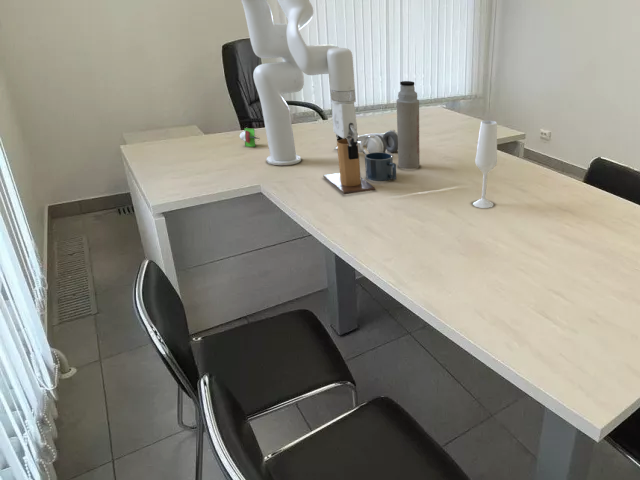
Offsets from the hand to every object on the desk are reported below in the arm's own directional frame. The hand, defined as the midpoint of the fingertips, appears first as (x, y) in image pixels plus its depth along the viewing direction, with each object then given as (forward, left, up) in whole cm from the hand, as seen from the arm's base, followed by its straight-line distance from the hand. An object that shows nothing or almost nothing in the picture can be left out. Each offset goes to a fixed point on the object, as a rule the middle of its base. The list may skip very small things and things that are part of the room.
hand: (348, 154), depth 174 cm
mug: (-2, +13, -10) cm, 17 cm away
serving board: (-2, 0, -10) cm, 10 cm away
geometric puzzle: (-64, -18, -10) cm, 67 cm away
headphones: (-38, +24, -10) cm, 46 cm away
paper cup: (0, 0, -9) cm, 9 cm away
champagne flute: (+34, +32, -10) cm, 48 cm away
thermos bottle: (-12, +28, -10) cm, 32 cm away
